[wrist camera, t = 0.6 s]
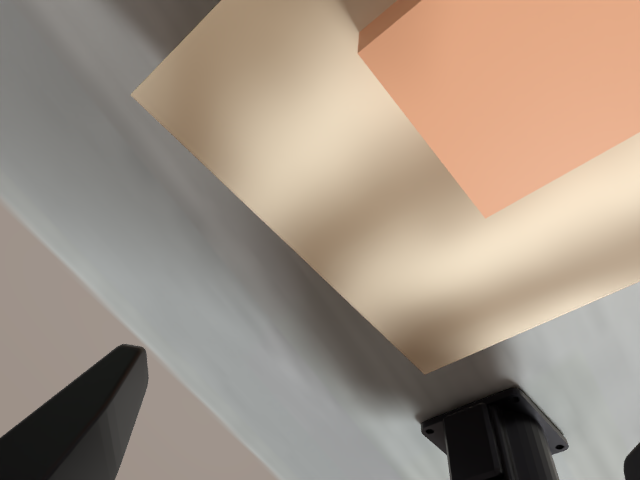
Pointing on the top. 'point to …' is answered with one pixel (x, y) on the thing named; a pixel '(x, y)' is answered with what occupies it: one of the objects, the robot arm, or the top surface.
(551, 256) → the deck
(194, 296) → the top surface
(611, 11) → the block
